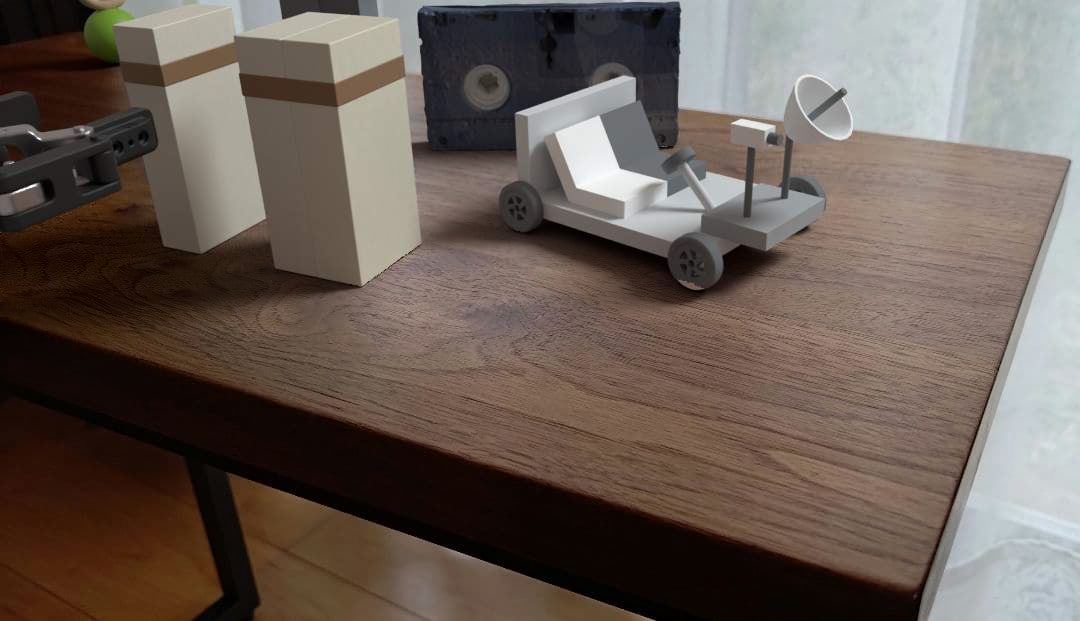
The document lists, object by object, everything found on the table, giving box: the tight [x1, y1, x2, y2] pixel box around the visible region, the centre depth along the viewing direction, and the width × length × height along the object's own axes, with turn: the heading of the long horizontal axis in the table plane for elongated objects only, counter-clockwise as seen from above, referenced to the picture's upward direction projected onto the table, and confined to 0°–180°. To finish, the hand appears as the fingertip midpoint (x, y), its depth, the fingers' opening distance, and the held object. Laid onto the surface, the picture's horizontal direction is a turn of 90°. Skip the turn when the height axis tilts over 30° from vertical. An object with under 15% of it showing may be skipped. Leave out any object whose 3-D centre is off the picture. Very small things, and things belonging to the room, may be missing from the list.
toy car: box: [498, 74, 854, 289], centre depth 56 cm, size 18×10×12 cm
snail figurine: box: [78, 0, 136, 64], centre depth 98 cm, size 5×6×12 cm
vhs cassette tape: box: [416, 0, 682, 151], centre depth 71 cm, size 18×3×10 cm, turn 84°
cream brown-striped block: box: [234, 12, 422, 287], centre depth 54 cm, size 6×6×13 cm
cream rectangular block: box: [112, 3, 266, 255], centre depth 58 cm, size 3×6×13 cm, turn 153°
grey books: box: [278, 0, 379, 20], centre depth 78 cm, size 6×6×14 cm
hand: (89, 117), depth 52 cm, fingers open, 8 cm apart
